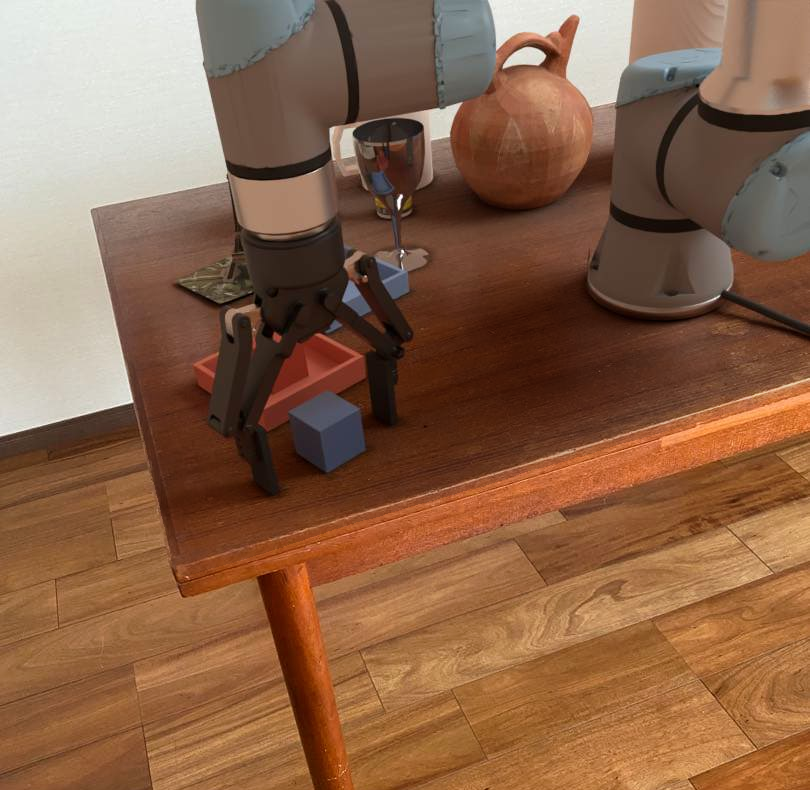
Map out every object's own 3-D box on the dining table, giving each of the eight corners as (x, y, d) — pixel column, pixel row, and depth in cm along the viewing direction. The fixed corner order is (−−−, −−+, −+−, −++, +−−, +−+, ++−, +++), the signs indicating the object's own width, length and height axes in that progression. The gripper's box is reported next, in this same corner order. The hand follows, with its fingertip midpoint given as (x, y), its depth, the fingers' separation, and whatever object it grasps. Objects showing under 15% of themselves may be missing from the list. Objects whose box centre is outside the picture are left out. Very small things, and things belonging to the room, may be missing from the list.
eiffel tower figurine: (273, 241, 114) (252, 133, 105) (322, 262, 108) (305, 150, 99) (175, 284, 107) (144, 173, 98) (222, 309, 102) (194, 194, 93)
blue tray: (409, 291, 101) (407, 271, 99) (326, 334, 95) (323, 313, 94) (342, 262, 108) (339, 242, 106) (261, 300, 103) (257, 280, 101)
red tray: (366, 377, 88) (363, 355, 87) (267, 432, 83) (262, 410, 81) (293, 337, 95) (289, 316, 94) (198, 385, 90) (192, 364, 88)
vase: (739, 176, 117) (789, -119, 95) (629, 185, 118) (655, -105, 96) (713, 139, 127) (753, -134, 106) (612, 147, 128) (632, -122, 107)
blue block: (365, 450, 79) (360, 408, 76) (327, 473, 77) (319, 431, 74) (334, 430, 82) (327, 389, 79) (296, 452, 80) (287, 411, 77)
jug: (551, 157, 128) (556, -2, 114) (616, 199, 115) (630, 26, 101) (433, 184, 124) (423, 23, 110) (486, 231, 111) (483, 55, 97)
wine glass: (442, 248, 108) (435, 120, 98) (416, 278, 103) (405, 145, 93) (384, 241, 111) (371, 116, 101) (355, 269, 106) (339, 140, 96)
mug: (346, 203, 121) (336, 122, 114) (333, 177, 129) (322, 99, 122) (441, 186, 123) (437, 104, 116) (422, 161, 130) (417, 83, 123)
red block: (309, 375, 89) (302, 335, 86) (273, 394, 87) (264, 354, 83) (282, 360, 91) (274, 321, 88) (247, 378, 89) (237, 339, 86)
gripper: (382, 158, 73) (402, 378, 87) (114, 265, 62) (188, 498, 76) (446, 179, 69) (456, 406, 83) (170, 298, 57) (237, 538, 72)
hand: (328, 451), depth 80 cm, fingers open, 13 cm apart
